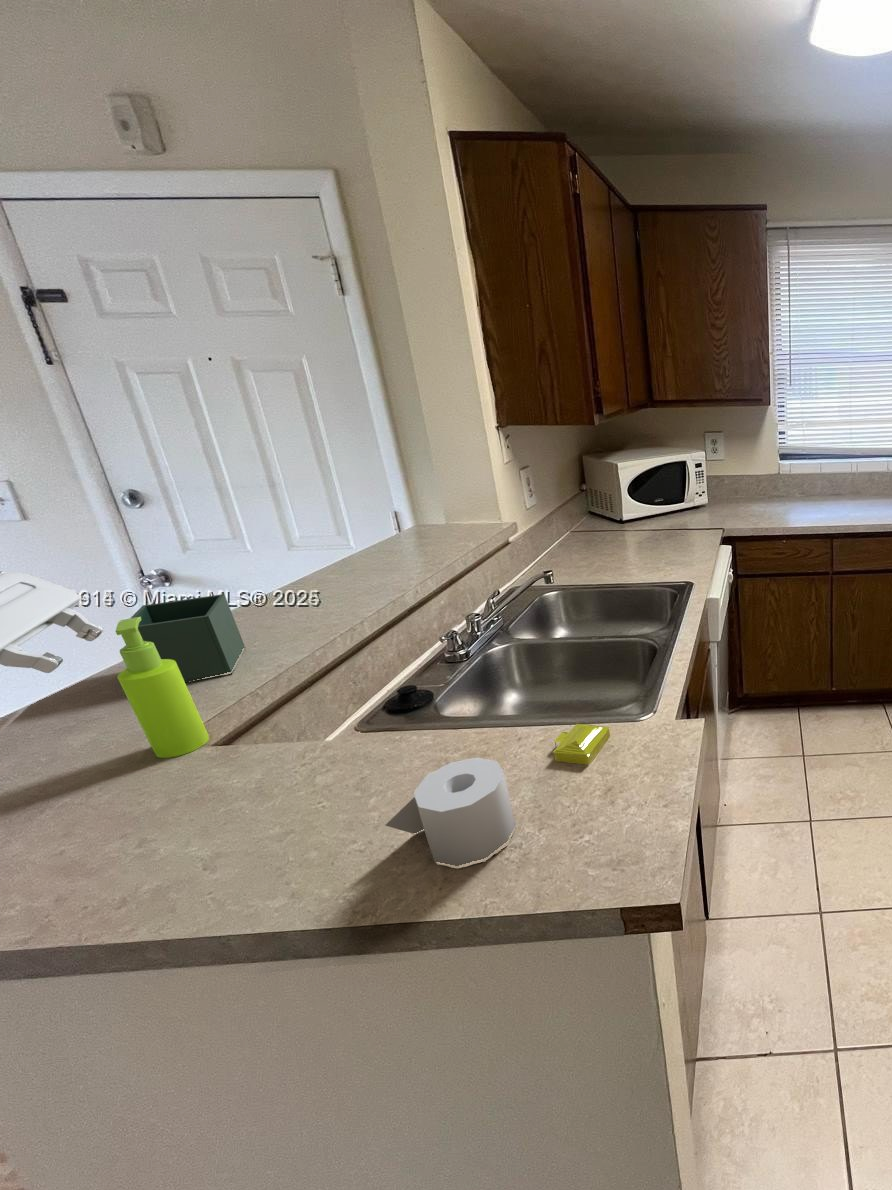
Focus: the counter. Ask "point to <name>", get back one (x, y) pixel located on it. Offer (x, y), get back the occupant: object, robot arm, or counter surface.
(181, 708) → the soap dispenser
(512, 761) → the counter surface
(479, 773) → the toilet tissue
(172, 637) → the trash bin
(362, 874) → the counter surface
